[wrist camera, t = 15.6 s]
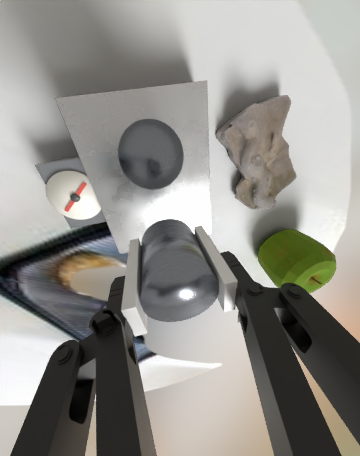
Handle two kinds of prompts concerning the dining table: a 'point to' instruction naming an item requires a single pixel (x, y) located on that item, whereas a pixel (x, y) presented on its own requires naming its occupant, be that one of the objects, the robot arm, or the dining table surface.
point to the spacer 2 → (175, 273)
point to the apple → (296, 260)
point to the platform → (110, 166)
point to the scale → (71, 191)
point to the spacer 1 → (150, 154)
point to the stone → (259, 151)
